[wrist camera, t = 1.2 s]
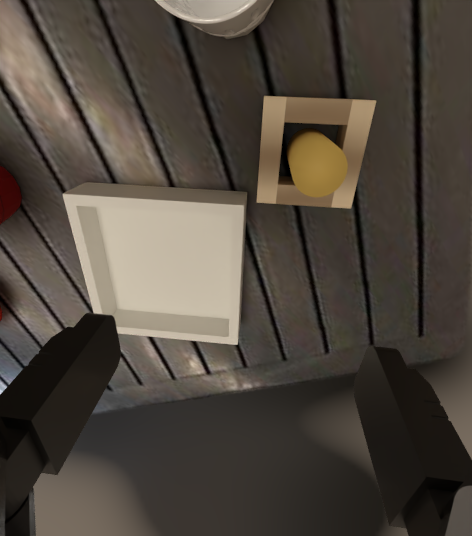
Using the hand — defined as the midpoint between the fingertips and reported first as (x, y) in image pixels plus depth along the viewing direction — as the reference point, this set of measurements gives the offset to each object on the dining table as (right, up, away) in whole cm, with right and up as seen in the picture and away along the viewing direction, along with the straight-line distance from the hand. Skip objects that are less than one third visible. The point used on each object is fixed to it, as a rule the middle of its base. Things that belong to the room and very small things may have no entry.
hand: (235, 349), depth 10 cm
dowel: (+6, +13, +17) cm, 22 cm away
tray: (-7, +4, +24) cm, 25 cm away
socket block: (+6, +13, +17) cm, 22 cm away
